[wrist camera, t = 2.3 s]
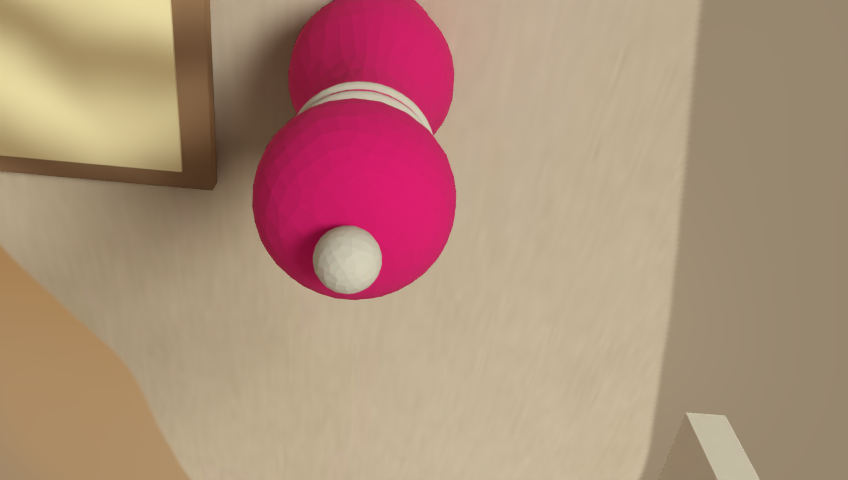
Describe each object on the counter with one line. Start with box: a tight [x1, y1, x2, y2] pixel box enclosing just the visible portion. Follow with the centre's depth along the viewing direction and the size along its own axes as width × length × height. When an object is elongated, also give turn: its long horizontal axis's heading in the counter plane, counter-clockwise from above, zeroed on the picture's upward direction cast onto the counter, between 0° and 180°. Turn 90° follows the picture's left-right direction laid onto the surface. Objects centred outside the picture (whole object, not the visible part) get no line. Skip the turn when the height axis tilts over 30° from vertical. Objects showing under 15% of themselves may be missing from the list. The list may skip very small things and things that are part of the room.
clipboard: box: [0, 0, 217, 190], centre depth 32 cm, size 16×14×2 cm
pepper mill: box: [252, 0, 456, 300], centre depth 26 cm, size 7×7×20 cm
